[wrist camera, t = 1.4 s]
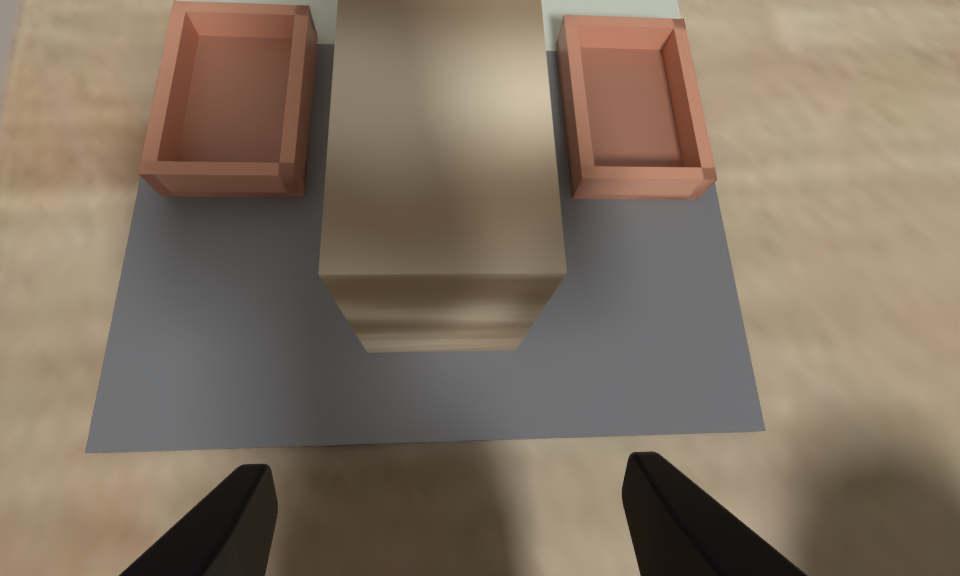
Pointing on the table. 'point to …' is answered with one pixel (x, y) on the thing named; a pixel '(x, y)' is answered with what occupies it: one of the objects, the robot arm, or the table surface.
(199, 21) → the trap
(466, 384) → the board
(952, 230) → the table surface
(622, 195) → the pink shallow tray
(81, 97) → the table surface
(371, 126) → the birch beam
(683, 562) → the robot arm
